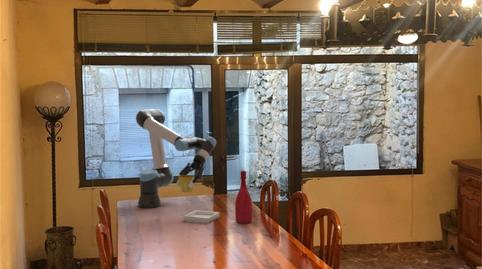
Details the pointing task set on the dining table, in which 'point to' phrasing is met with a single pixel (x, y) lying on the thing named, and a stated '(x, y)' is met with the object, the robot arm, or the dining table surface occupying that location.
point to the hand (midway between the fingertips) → (183, 185)
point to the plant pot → (185, 183)
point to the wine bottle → (243, 202)
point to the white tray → (201, 216)
